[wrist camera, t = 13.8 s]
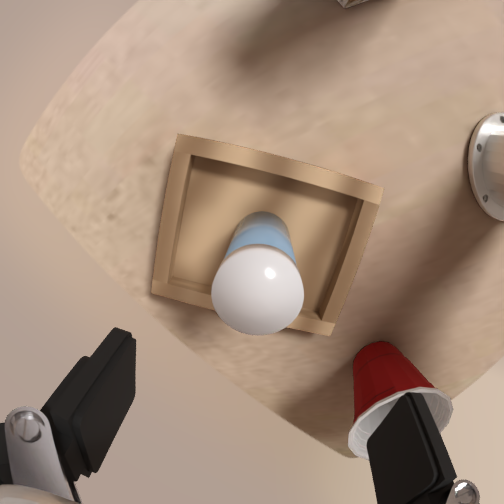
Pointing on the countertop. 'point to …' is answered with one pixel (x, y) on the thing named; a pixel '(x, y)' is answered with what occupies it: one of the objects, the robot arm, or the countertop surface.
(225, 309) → the shaker
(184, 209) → the tray
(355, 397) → the plastic cup
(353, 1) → the coffee box
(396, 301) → the countertop surface
